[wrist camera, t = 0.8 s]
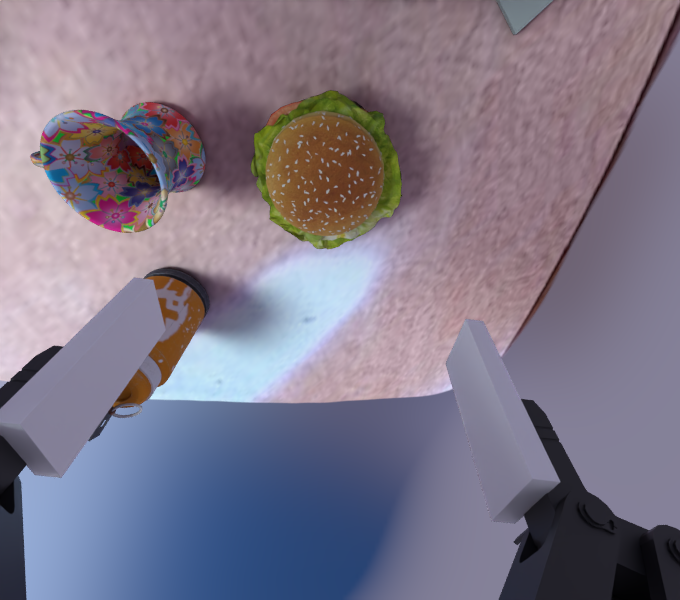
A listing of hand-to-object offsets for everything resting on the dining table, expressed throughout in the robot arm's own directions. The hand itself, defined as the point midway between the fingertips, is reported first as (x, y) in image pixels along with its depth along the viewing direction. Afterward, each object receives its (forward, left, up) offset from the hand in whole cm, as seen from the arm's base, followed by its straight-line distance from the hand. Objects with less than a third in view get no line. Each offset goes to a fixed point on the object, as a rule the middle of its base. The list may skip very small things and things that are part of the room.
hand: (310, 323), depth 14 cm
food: (0, -1, -26) cm, 26 cm away
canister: (-2, -29, -26) cm, 38 cm away
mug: (-14, -13, -26) cm, 32 cm away
